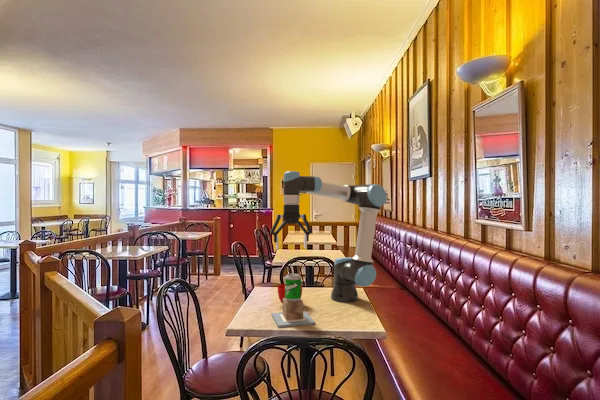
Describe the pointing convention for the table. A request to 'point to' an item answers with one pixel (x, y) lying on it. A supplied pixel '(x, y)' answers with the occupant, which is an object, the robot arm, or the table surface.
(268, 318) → the table surface
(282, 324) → the baseplate
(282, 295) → the ceramic cup
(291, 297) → the soda can
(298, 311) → the walnut block
